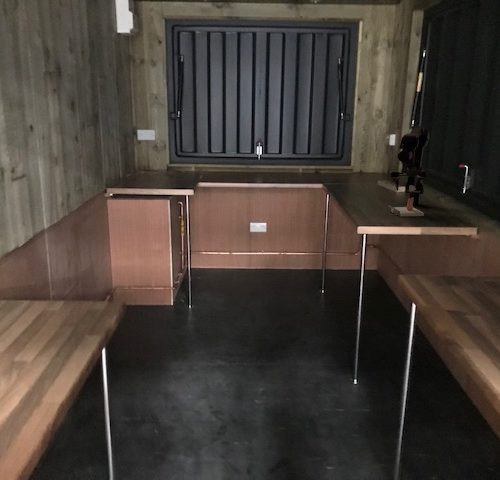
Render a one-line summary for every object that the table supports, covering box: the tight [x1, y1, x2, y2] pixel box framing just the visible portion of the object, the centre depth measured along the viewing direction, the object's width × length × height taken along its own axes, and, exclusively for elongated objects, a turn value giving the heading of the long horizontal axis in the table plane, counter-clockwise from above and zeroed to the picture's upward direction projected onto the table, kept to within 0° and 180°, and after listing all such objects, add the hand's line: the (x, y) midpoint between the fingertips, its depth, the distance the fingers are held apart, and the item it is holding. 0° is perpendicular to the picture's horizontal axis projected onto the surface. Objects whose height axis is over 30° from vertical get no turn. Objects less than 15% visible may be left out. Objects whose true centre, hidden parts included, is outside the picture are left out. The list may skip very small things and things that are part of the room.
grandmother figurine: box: [406, 185, 416, 211], centre depth 254 cm, size 8×4×13 cm, turn 1°
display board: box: [387, 205, 425, 217], centre depth 256 cm, size 15×13×2 cm
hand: (406, 190), depth 260 cm, fingers open, 9 cm apart
